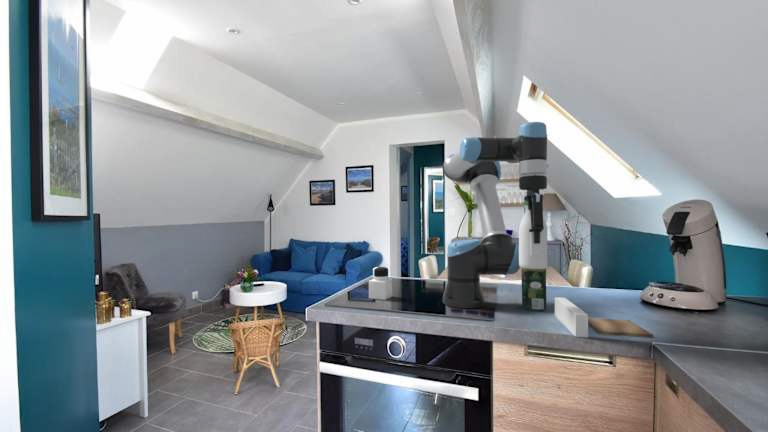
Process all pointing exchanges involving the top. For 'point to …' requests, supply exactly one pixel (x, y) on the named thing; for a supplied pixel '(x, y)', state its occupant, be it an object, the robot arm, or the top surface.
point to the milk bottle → (525, 244)
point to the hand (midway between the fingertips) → (533, 253)
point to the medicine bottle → (380, 284)
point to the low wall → (571, 317)
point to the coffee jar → (534, 289)
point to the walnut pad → (618, 327)
